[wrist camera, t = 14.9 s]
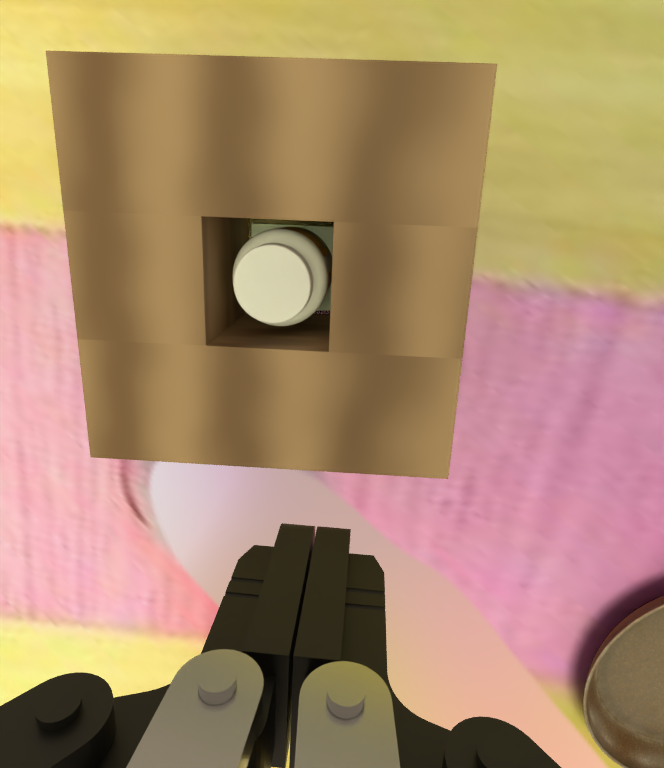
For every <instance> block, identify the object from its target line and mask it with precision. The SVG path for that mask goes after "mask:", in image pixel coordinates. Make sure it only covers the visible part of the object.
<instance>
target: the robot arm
mask: <svg viewBox="0 0 664 768" xmlns="http://www.w3.org/2000/svg"><path fill="white" fill-rule="evenodd" d="M349 544H350V529H340V528H330V527H317V531H316V536H315V526H305V525H294V524H281V526H280V529H279V533H278V535H277V539H276V542H275V546H274V547H269V546H258V545H254V546H253V547H252V548H251V549H250V550H248V552H246V553H245V554H244V555H243V556H242V557H241V558H240V559H239V560H238V562H237V565H236V567H235V570H234V572H233V575H232V579H231V581H230V582H229V585H228V587H227V590H226V594H225V596H224V597H223V600H222V602H221V605H220V607H219V610H218V612H217V615H216V617H215V620H214V622H213V625H212V627H211V630H210V632H209V635H208V637H207V640H206V642H205V645H204V647H203V650H202V652H201V654H200V655H198V656H196V657H194V658H192V659H191V660H189V661H188V662H187V663H186V664H184V665H183V666H182V667H181V669H180V670H179V671H178V672H177V674H176V675H175V677H174V679H173V680H172V682H171V684H169V685H167V686H164V687H161V688H159V689H156V690H152V691H148V692H142V693H137V694H131V695H126V696H120V697H115V698H113V694H112V690H111V688H110V686H109V684H108V683H107V682H106V681H105V680H104V679H102V678H101V677H99V676H96V675H94V674H90V673H69V674H65V675H61V676H57V677H55V678H52V679H49V680H47V681H45V682H43V683H41V684H39V685H38V686H36V687H34V688H32V689H30V690H29V691H27V692H25V693H23V694H21V695H20V696H18V697H16V698H14V699H12V700H11V701H9V702H7V703H5V704H4V705H2V706H0V768H271V767H279V768H285V767H286V761H287V755H288V748H289V742H290V765H289V768H561V767H560V766H559V765H558V764H557V763H556V762H555V761H554V760H553V759H551V758H550V757H549V756H548V755H547V754H546V753H545V752H544V751H543V750H542V749H541V748H540V747H539V746H538V745H537V744H536V743H535V742H534V741H533V740H531V739H530V738H529V737H528V736H527V735H526V734H524V733H523V732H522V731H521V730H519V729H518V728H516V727H515V726H513V725H510V724H509V723H507V722H504V721H502V720H499V719H495V718H490V717H473V718H469V719H465V720H463V721H462V722H460V723H458V724H457V725H456V726H455V727H454V728H453V729H452V730H451V731H450V730H447V729H445V728H442V727H440V726H438V725H435V724H433V723H431V722H428V721H426V720H424V719H422V718H420V717H418V716H416V715H415V714H413V713H412V712H411V711H410V710H408V709H407V708H406V707H405V706H404V705H403V704H402V703H401V702H400V701H399V700H398V698H397V697H396V696H395V694H394V692H393V690H392V688H391V686H390V684H389V680H388V675H387V651H386V618H385V586H384V572H383V570H382V568H381V567H380V565H379V563H378V562H377V560H376V559H375V557H374V556H371V555H360V554H349ZM290 736H291V738H290Z"/></svg>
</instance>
